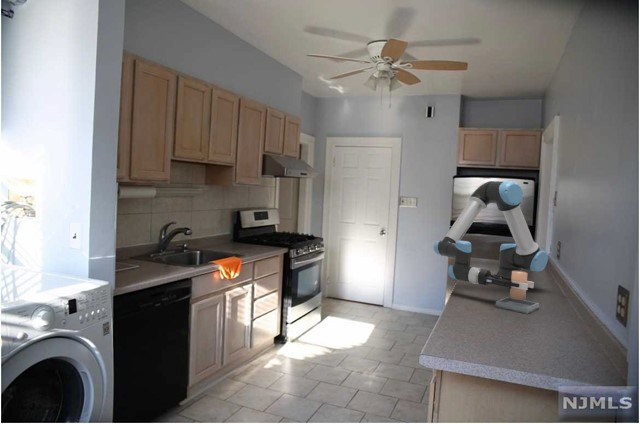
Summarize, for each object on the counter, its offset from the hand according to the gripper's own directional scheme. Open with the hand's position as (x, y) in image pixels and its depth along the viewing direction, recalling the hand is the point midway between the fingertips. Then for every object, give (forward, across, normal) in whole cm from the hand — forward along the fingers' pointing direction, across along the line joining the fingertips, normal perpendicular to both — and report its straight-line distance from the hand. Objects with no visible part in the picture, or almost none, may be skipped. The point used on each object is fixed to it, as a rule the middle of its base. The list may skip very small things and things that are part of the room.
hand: (530, 286), depth 196 cm
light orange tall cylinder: (-5, 0, -7) cm, 8 cm away
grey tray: (-5, 0, -11) cm, 12 cm away
